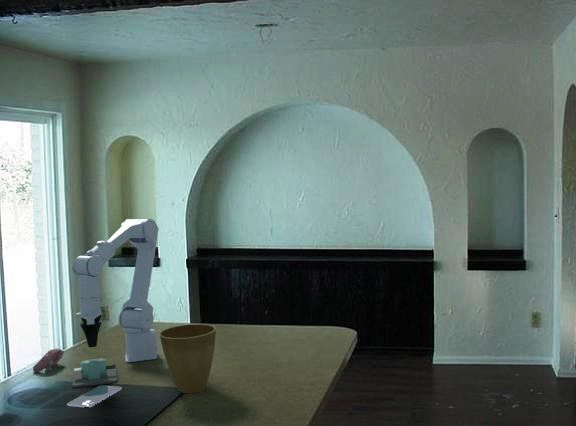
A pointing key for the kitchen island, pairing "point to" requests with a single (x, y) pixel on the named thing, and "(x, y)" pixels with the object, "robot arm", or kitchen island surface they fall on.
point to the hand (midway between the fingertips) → (92, 343)
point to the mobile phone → (94, 396)
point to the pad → (109, 378)
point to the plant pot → (189, 355)
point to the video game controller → (48, 360)
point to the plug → (93, 369)
